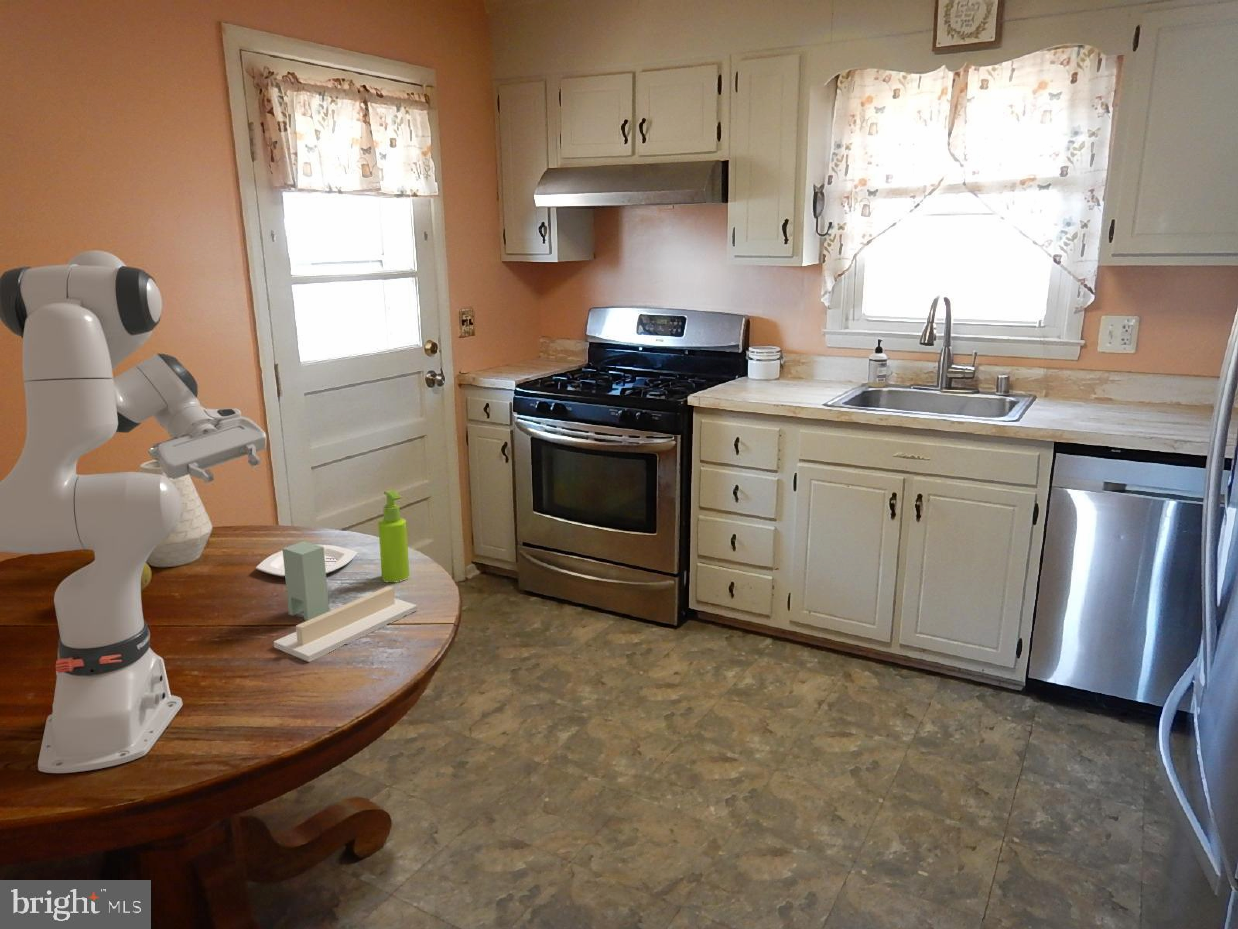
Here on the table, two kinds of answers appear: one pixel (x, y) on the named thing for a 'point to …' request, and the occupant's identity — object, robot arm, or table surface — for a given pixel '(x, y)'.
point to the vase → (181, 525)
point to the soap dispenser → (393, 541)
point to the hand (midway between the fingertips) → (233, 471)
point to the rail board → (344, 633)
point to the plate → (344, 556)
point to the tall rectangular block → (306, 579)
